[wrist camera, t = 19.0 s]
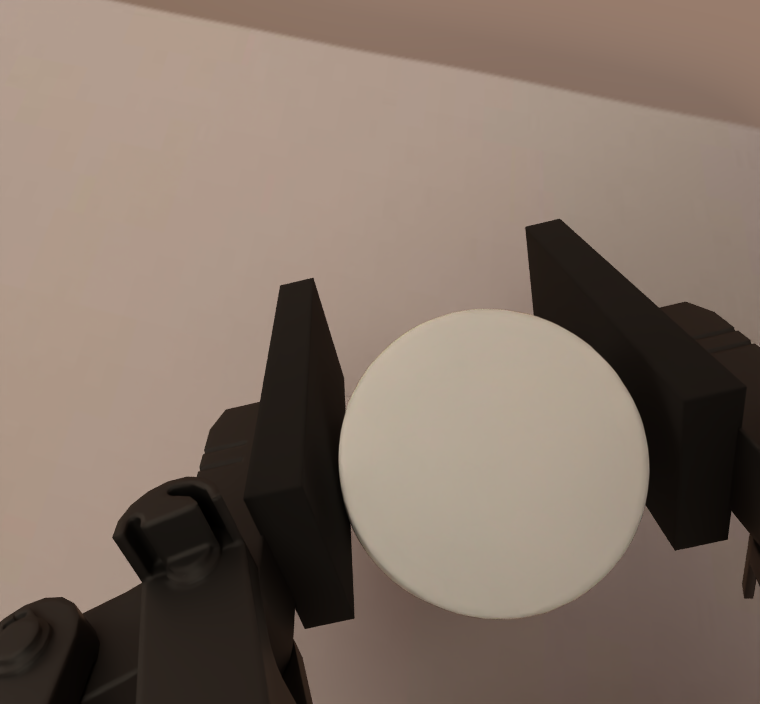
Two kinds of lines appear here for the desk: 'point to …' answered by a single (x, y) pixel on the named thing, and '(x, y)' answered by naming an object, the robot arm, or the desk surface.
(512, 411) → the pill bottle
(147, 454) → the desk surface
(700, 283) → the desk surface
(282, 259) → the desk surface
